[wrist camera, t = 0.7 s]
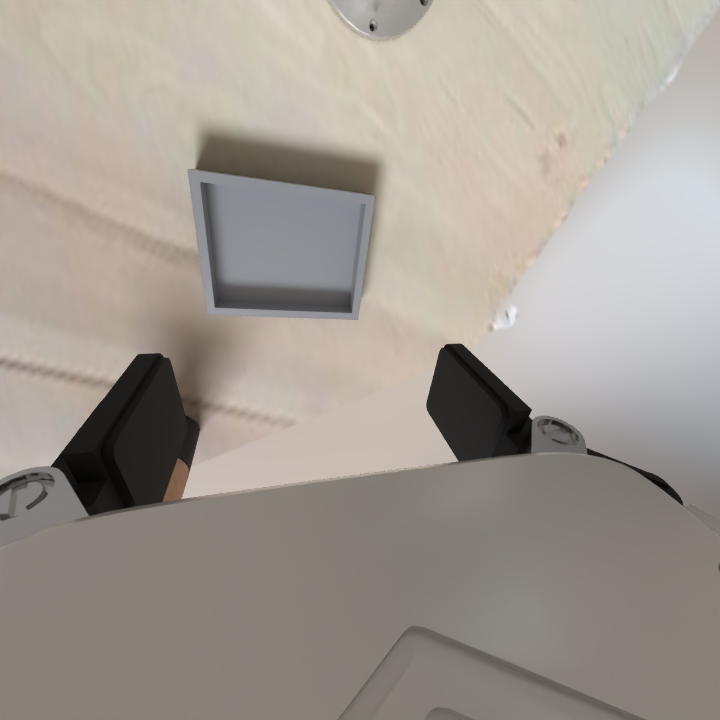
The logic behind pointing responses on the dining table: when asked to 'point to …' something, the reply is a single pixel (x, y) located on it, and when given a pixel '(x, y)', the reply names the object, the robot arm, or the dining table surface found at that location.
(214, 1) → the dining table surface
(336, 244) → the tray
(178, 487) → the travel mug
